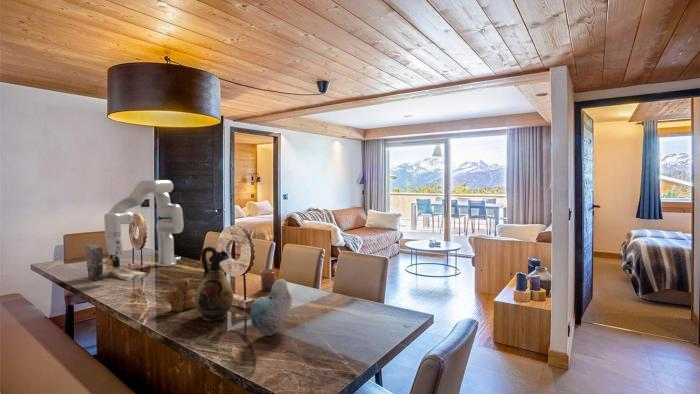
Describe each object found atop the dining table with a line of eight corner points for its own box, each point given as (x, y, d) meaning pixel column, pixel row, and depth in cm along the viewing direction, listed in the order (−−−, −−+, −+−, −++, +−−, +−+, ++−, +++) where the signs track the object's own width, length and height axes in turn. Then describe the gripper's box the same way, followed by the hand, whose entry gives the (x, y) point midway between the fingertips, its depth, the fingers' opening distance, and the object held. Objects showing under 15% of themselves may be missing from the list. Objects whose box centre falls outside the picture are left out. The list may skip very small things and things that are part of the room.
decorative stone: (262, 347, 125) (261, 290, 125) (243, 341, 130) (242, 287, 129) (298, 326, 144) (298, 277, 143) (280, 322, 148) (280, 274, 147)
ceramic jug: (240, 312, 160) (239, 245, 159) (220, 325, 145) (219, 251, 144) (206, 308, 164) (205, 243, 162) (183, 321, 149) (182, 249, 147)
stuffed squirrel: (201, 304, 170) (200, 276, 169) (181, 315, 156) (180, 285, 155) (182, 303, 172) (181, 275, 171) (161, 313, 158) (160, 283, 157)
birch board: (127, 271, 232) (127, 268, 232) (146, 276, 220) (146, 272, 220) (109, 275, 222) (108, 271, 222) (126, 280, 211) (126, 276, 210)
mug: (272, 292, 188) (272, 273, 187) (256, 291, 189) (256, 272, 189) (281, 286, 199) (281, 267, 199) (266, 285, 201) (266, 267, 201)
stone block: (84, 278, 216) (83, 244, 215) (97, 275, 221) (97, 243, 220) (92, 281, 208) (91, 247, 207) (106, 279, 213) (105, 245, 213)
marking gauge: (116, 267, 209) (115, 257, 208) (119, 268, 206) (118, 258, 206) (98, 271, 201) (97, 260, 200) (102, 272, 199) (101, 261, 198)
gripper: (127, 235, 203) (128, 267, 205) (113, 232, 212) (114, 263, 214) (112, 237, 197) (114, 270, 198) (98, 234, 206) (100, 265, 207)
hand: (114, 266), depth 206 cm, fingers closed on marking gauge, 3 cm apart
